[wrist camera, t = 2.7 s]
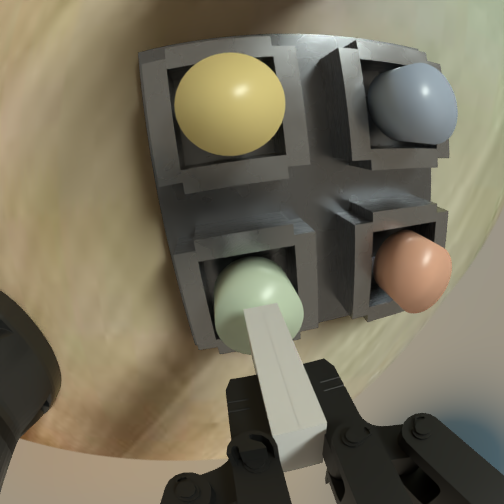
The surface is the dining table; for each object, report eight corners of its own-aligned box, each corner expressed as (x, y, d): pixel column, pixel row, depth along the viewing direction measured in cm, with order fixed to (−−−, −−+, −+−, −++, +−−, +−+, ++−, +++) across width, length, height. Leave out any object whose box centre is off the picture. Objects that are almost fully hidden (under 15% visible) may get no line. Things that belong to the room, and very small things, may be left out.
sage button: (220, 328, 18) (223, 361, 15) (206, 263, 16) (206, 289, 13) (291, 315, 18) (304, 345, 15) (286, 250, 16) (301, 273, 13)
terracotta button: (371, 297, 18) (393, 321, 16) (374, 234, 17) (401, 252, 14) (420, 283, 19) (445, 303, 16) (426, 225, 17) (455, 240, 14)
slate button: (371, 141, 15) (402, 143, 12) (362, 67, 13) (391, 56, 10) (427, 141, 15) (460, 145, 12) (420, 75, 13) (452, 70, 11)
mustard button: (188, 160, 14) (182, 164, 11) (176, 77, 12) (168, 61, 9) (275, 147, 14) (291, 149, 11) (264, 66, 13) (277, 49, 10)
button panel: (195, 337, 21) (194, 371, 18) (141, 56, 14) (126, 38, 10) (414, 289, 23) (439, 310, 19) (410, 51, 16) (441, 42, 12)
